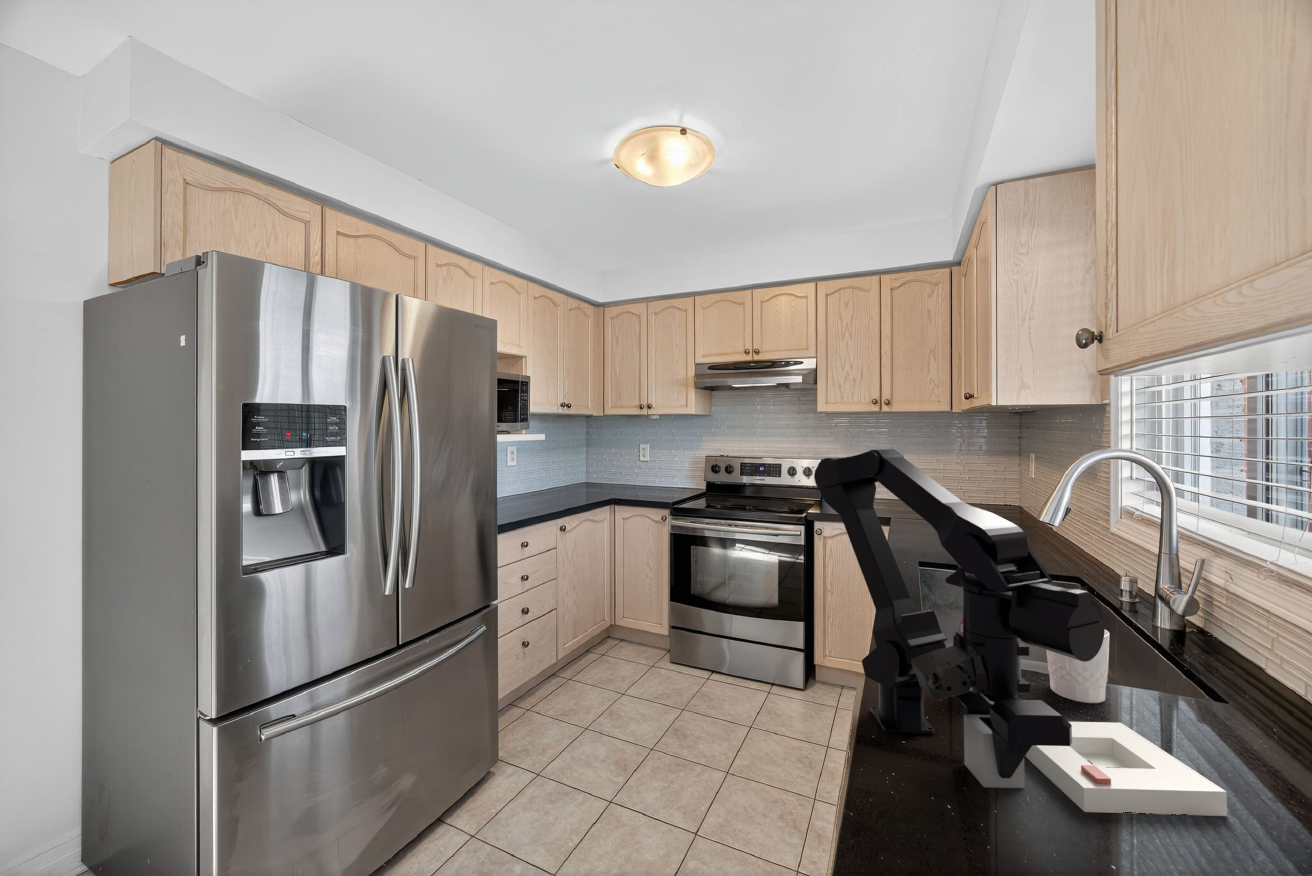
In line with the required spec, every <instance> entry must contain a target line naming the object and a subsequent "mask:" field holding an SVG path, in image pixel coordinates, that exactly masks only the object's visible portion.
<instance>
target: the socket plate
mask: <svg viewBox="0 0 1312 876" xmlns="http://www.w3.org/2000/svg"><path fill="white" fill-rule="evenodd" d="M1068 722H1069V723H1070V724H1071V725H1072V744H1071V745H1070V746H1038V745H1033V746H1032V747H1031V748H1030V749H1029V751H1028V752H1027V754H1026V755H1025V757H1024V758H1027V760H1029V762H1030V763H1032V764H1033V765H1034V767H1036V768H1037V769H1038V770H1039V771H1040V772H1041V773H1042V774H1043V775H1045V776H1046V777H1047V778H1048V779H1049V781H1051V782H1052V783H1053V784H1054V785H1055V786H1056V787H1057V788H1058V789H1059V790H1060V791H1062V792H1063V793H1064V794H1065V795H1066V796H1067V797H1068V798H1069V799H1070V800H1071V801H1072V802H1073V803H1074V804H1076V806H1077V807H1079V808H1080V809H1081V810H1082V811H1083V812H1084V813H1104V814H1105V813H1112V814H1113V813H1114V814H1115V813H1116V814H1126V813H1125V812H1132V813H1131V814H1138V813H1146V814H1147V815H1171V814H1174V815H1175V814H1176V815H1177V816H1183V815H1182V814H1187V815H1186V816H1209V817H1214V816H1215V817H1228V798H1227V797H1228V796H1227V794H1228V792H1227V791H1226V790H1225V789H1223V788H1222V787H1220V786H1219V785H1217V784H1216V783H1214V782H1213V781H1211V780H1209V779H1208V778H1207V777H1205V776H1203V775H1201V774H1200V773H1199V772H1197V771H1195V770H1194V769H1193V768H1191V767H1189V766H1188V765H1186V764H1184V763H1183V762H1182V761H1180V760H1179V759H1178V758H1176V757H1174V756H1172V754H1169V753H1168V752H1166V751H1165V750H1163V749H1162V748H1161V747H1159V746H1157V745H1155V743H1153V742H1151V741H1149V740H1148V739H1147V738H1145V737H1144V736H1142V735H1140V734H1139V733H1137V732H1136V731H1134V730H1133V729H1131V728H1130V727H1128V726H1127V725H1125V724H1123V723H1122V722H1109V721H1107V722H1105V721H1102V722H1101V721H1068ZM1123 812H1124V813H1123ZM1133 812H1134V813H1133ZM1135 812H1136V813H1135ZM1149 813H1150V814H1149ZM1151 813H1152V814H1151ZM1153 813H1154V814H1153ZM1146 814H1145V815H1146ZM1180 814H1181V815H1180ZM1176 815H1175V816H1176Z"/></svg>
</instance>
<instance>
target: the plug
mask: <svg viewBox="0 0 1312 876" xmlns="http://www.w3.org/2000/svg"><path fill="white" fill-rule="evenodd" d="M979 717H990V715H976V714H965V713H964V714H963V747H964V748H963V751H964V766H965V767H966V768H967V769H968V770H969V771H970V772H971V774H972V775H973V776H974V777H975V778H976V779H977V781H978V782H979V783H980V784H981V786H982V787H983V788H995V789H997V788H1002V789H1006V788H1007V789H1025V787H1026V785H1025V784H1026V783H1025V782H1026V780H1025V757H1024V758H1023V760H1022V761H1021V763H1020V765H1019V766H1018V768H1017V769H1016V771H1015V772H1014V774H1013V775H1012V777H1011V778H1001V777H1000V776H999V773H998V768H997V763H996V756H995V749H994V742H993V736H992V731H991V730H990V729H989V728H988V727H987V726H986V725H985V724H984V723H983V722H982V721H981V720H980V719H979Z"/></svg>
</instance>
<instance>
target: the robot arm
mask: <svg viewBox="0 0 1312 876" xmlns="http://www.w3.org/2000/svg"><path fill="white" fill-rule="evenodd" d="M813 476H814V479H813V480H814V483H815V485H816V488H817V489H818V491H819V493H820V495H821V497H822V499H823V500H824V501H823V502H825V504H827V505H828V506H829V507H830V508H831V509H832V510H833V511H834V512H836V513H837V514H838V515H839V516H840V518H841V520H842V523H843V525H844V529H845V531H846V533H847V537H848V539H849V542H850V545H851V547H852V549H853V553H854V555H855V558H856V561H857V563H858V565H859V568H860V571H861V573H862V576H863V578H864V582H865V584H866V586H867V590H868V592H869V595H870V597H871V600H872V603H873V605H874V608H875V615H874V622H873V629H872V635H873V638H874V642H875V648H874V649H873V650H872V651H870V652H869V653H868V654H867V655H866V656H865V657H864V658H863V659H861V665H862V667H863V672H864V676H865V677H866V678H868V679H870V680H872V681H874V682H876V683H878V706H875V705H873V706H870V712H871V713H872V715H873V717H874V718H875V720H876V721H877V722H878V723H879V725H880V727H881V728H882V730H883V732H885V733H888V734H889V733H891V734H930V735H931V734H932V735H933V734H935V728H934V727H933V726H932V725H931V724H930V722H929V721H928V719H926V717H925V712H924V711H925V707H924V705H925V704H924V703H925V702H924V701H925V700H924V697H925V695H924V691H925V692H926V693H927V695H928V697H930V699H932V700H934V701H940V700H945V699H947V698H948V697H949V698H954V697H956V699H957V700H959V701H960V703H961V706H962V708H963V711H964V714H976V715H990V717H979V719H980V720H981V721H982V722H983V723H984V724H985V725H986V726H987V727H988V728H989V729H990V730H991V731H992V736H993V742H994V749H995V756H996V763H997V768H998V773H999V776H1000V777H1001V778H1011V777H1012V775H1013V774H1014V772H1015V771H1016V769H1017V768H1018V766H1019V765H1020V763H1021V761H1022V760H1023V758H1024V759H1025V758H1026V757H1025V755H1026V754H1027V752H1028V751H1029V749H1030V748H1031V747H1032V746H1033V745H1038V746H1070V745H1071V744H1072V725H1071V724H1070V723H1069V722H1070V721H1068V720H1067V719H1066V718H1065V717H1064V716H1063V715H1062V714H1060V713H1059V712H1057V710H1055V709H1053V708H1052V707H1051V706H1050V705H1048V704H1047V703H1046V702H1044V701H1043V700H1041V699H1021V698H1019V697H1018V696H1019V695H1018V693H1021V694H1023V693H1024V694H1027V693H1028V694H1030V693H1031V684H1030V683H1029V682H1028V681H1027V680H1026V679H1024V678H1022V662H1021V661H1022V660H1021V657H1030V646H1029V645H1031V646H1033V647H1037V648H1039V649H1043V650H1046V651H1047V650H1049V651H1052V652H1055V653H1058V654H1061V655H1064V656H1067V657H1070V658H1073V659H1076V660H1079V661H1083V662H1087V661H1090V660H1092V659H1093V658H1094V657H1095V656H1096V655H1097V654H1098V652H1099V650H1100V648H1101V646H1102V643H1103V639H1104V629H1105V623H1104V622H1103V621H1102V618H1101V615H1100V612H1099V610H1098V609H1097V607H1096V606H1094V605H1093V604H1092V603H1091V594H1090V593H1089V591H1087V590H1083V589H1078V588H1067V587H1066V588H1065V587H1060V586H1057V585H1052V584H1053V579H1052V578H1051V576H1050V574H1049V573H1048V572H1047V570H1046V569H1045V568H1044V566H1043V565H1042V563H1041V562H1040V560H1039V559H1038V558H1037V556H1036V555H1035V553H1034V551H1033V550H1032V549H1031V548H1030V546H1029V543H1028V536H1027V534H1026V533H1025V531H1024V530H1023V529H1022V528H1021V527H1019V526H1018V525H1017V524H1015V523H1013V522H1012V521H1009V520H1007V519H1005V518H1003V517H1001V516H1000V515H997V514H996V513H994V512H990V511H988V510H985V509H982V508H979V507H976V506H972V505H970V504H969V503H967V502H965V501H963V500H961V499H960V498H958V497H957V496H956V495H955V494H953V493H952V492H950V491H949V490H948V489H947V488H945V487H944V486H942V485H941V484H940V483H938V482H937V481H935V479H933V478H932V477H930V476H929V475H928V474H926V473H925V472H923V471H922V470H920V469H919V468H918V467H917V466H915V465H914V464H913V463H911V462H910V461H908V460H907V459H906V458H905V457H904V455H903V453H901V452H900V451H898V450H896V449H894V448H891V449H890V448H888V449H887V448H886V449H870V450H868V451H865V452H861V453H860V454H855V455H851V456H846V457H844V456H843V457H825V458H823V459H821V460H820V462H818V465H817V467H816V468H815V470H814V474H813ZM876 483H880V485H882V486H883V487H884V488H885V489H886V490H887V491H889V492H890V493H891V494H893V495H894V496H895V497H896V498H897V499H898V500H900V501H901V502H903V504H904V505H906V506H907V507H908V508H910V509H911V511H913V512H914V513H915V514H916V515H918V516H919V517H920V518H921V519H922V520H923V521H925V522H926V523H928V525H930V526H931V528H932V529H934V531H935V532H936V533H937V535H938V536H937V537H938V540H939V542H940V545H941V547H942V548H943V550H945V552H946V553H947V555H948V556H950V557H951V559H952V560H953V561H954V562H955V564H957V566H958V568H957V569H956V570H955V571H954V572H953V573H951V574H950V575H948V576H947V577H945V579H944V581H945V583H946V584H948V585H952V586H955V587H959V588H961V592H962V593H961V596H962V597H961V598H962V599H961V600H962V602H961V603H962V619H963V632H959V631H955V634H954V635H953V637H952V638H953V643H952V646H946V643H945V642H946V641H948V638H947V637H946V636H945V634H944V633H943V631H942V629H941V627H940V623H939V621H938V618H937V617H938V616H937V614H936V613H935V612H934V611H933V610H932V609H929V610H923V609H921V608H920V607H919V606H918V605H917V603H915V602H914V601H913V600H912V597H911V596H910V593H909V590H908V588H907V586H906V582H905V581H904V578H903V575H902V573H901V571H900V568H899V566H898V564H897V561H896V559H895V556H894V555H893V551H892V549H891V546H890V544H889V542H888V541H889V540H888V539H887V536H886V534H885V531H884V529H883V527H882V524H881V522H880V520H879V517H878V514H877V512H876V510H875V509H876V508H875V505H874V504H875V498H876V492H877V485H876ZM1012 570H1016V572H1009V573H1003V574H1002V572H1006V571H1012Z"/></svg>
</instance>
